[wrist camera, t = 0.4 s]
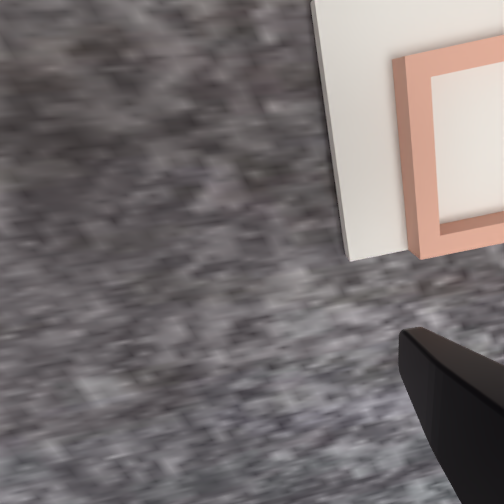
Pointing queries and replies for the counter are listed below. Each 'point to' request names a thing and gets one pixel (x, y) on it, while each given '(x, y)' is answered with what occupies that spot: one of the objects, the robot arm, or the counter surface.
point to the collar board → (414, 122)
